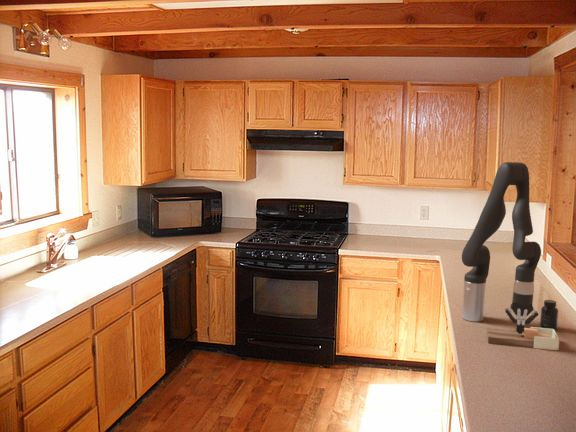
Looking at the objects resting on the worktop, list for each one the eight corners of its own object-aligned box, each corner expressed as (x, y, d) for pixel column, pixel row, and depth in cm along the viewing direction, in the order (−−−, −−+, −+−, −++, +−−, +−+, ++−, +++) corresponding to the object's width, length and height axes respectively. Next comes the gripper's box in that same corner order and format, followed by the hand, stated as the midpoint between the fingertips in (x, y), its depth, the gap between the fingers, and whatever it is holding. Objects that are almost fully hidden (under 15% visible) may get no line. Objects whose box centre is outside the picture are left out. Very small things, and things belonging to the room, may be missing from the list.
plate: (486, 333, 257) (486, 328, 257) (529, 338, 253) (530, 332, 253) (488, 343, 247) (488, 337, 246) (533, 347, 243) (533, 341, 242)
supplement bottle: (543, 324, 271) (546, 297, 269) (559, 328, 266) (561, 301, 264) (536, 328, 266) (539, 301, 264) (552, 332, 261) (555, 304, 259)
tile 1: (522, 333, 251) (523, 327, 251) (535, 334, 250) (536, 328, 250) (524, 337, 246) (524, 331, 246) (537, 339, 245) (538, 332, 245)
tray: (529, 337, 254) (530, 326, 253) (552, 339, 252) (553, 329, 251) (533, 348, 242) (534, 336, 242) (558, 350, 240) (559, 339, 240)
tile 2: (535, 339, 250) (536, 333, 250) (548, 340, 249) (549, 334, 249) (537, 343, 245) (538, 337, 245) (551, 345, 244) (551, 339, 244)
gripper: (539, 290, 248) (536, 331, 251) (504, 287, 251) (501, 328, 254) (542, 295, 241) (538, 338, 243) (506, 292, 244) (503, 334, 247)
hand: (519, 333), depth 249 cm, fingers closed
